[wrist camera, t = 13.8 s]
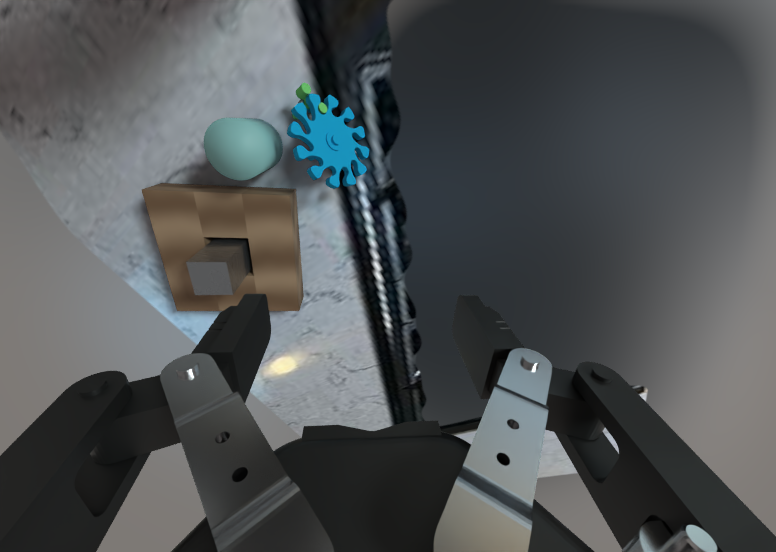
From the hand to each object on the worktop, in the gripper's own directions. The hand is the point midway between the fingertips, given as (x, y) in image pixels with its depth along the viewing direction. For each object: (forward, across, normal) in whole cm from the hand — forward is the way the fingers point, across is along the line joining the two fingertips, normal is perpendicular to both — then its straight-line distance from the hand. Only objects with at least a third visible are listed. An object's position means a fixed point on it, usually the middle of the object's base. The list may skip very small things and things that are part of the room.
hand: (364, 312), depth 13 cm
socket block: (+30, +16, +9) cm, 35 cm away
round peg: (+30, +12, -4) cm, 33 cm away
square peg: (+30, +16, +9) cm, 35 cm away
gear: (+30, +3, -5) cm, 31 cm away
